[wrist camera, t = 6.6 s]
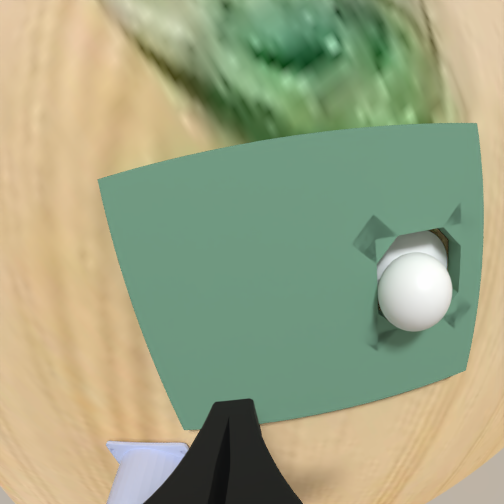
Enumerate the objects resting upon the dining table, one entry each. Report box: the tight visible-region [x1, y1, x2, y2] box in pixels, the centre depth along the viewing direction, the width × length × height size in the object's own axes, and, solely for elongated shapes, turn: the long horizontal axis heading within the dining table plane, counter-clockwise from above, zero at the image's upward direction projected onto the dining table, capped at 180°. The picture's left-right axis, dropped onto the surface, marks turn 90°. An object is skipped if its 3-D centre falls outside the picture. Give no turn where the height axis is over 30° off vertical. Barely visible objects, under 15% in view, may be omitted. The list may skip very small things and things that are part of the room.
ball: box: [378, 252, 452, 332], centre depth 17 cm, size 4×4×4 cm
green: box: [98, 123, 484, 430], centre depth 18 cm, size 18×22×2 cm
